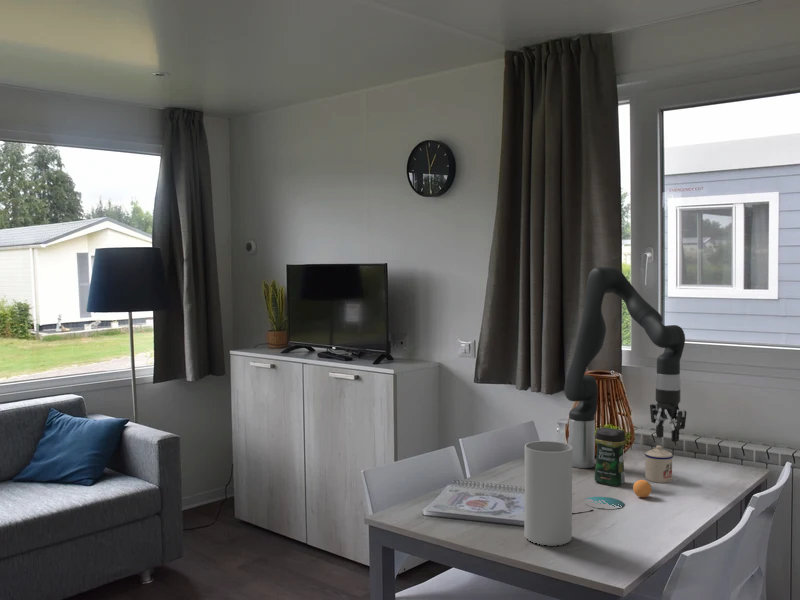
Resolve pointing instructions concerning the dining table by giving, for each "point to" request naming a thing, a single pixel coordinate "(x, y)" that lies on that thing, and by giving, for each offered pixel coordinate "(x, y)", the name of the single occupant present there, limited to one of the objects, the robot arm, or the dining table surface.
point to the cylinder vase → (548, 493)
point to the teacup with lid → (658, 465)
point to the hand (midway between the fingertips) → (667, 439)
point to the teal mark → (608, 501)
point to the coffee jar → (610, 456)
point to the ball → (642, 488)
